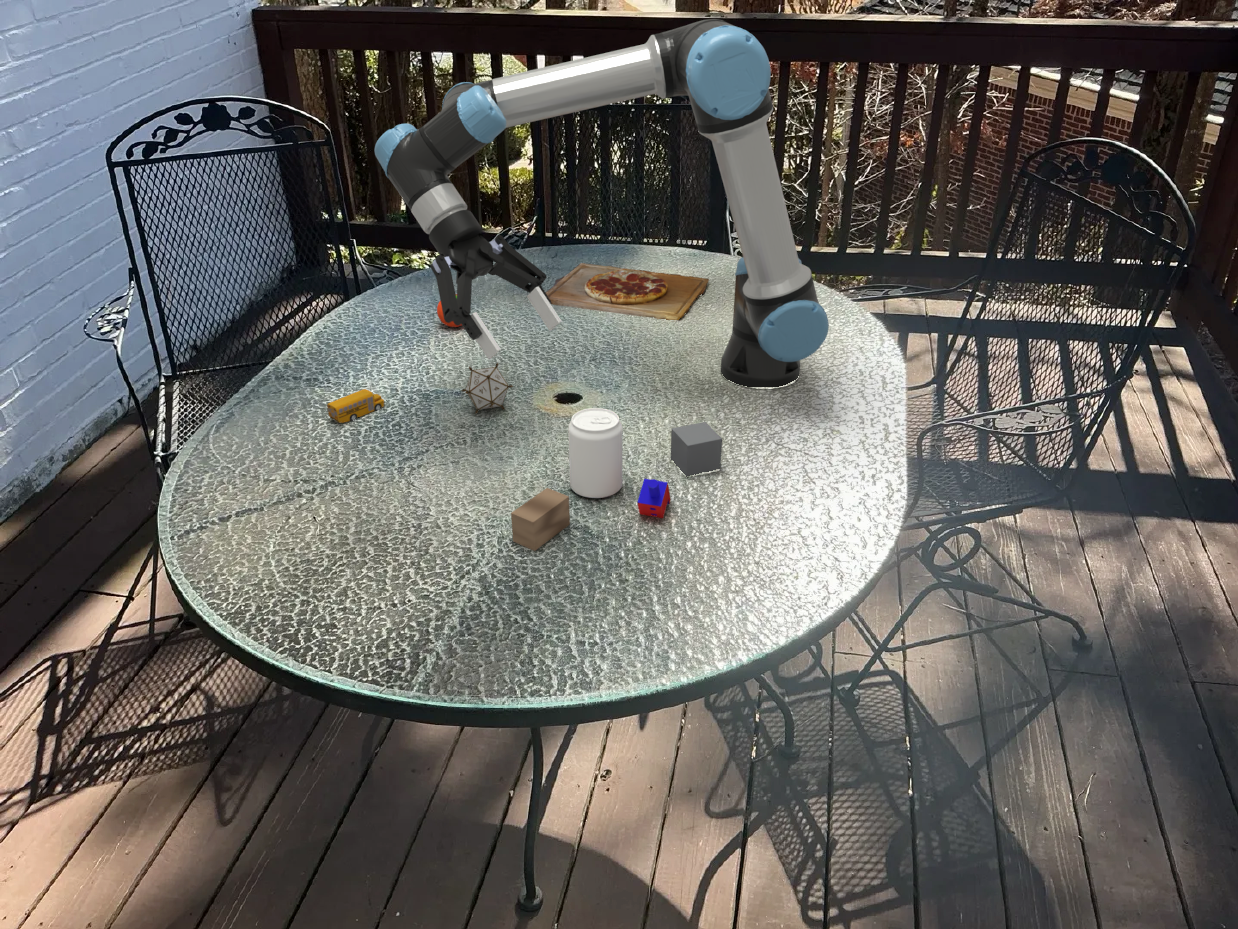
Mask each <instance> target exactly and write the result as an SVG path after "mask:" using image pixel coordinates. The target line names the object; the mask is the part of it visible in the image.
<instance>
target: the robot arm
mask: <svg viewBox="0 0 1238 929" xmlns="http://www.w3.org/2000/svg"><path fill="white" fill-rule="evenodd" d="M771 74H772V72H771V64H770V61H769V57H768V55H767V52H766V50H765V48H764V46H763V45H762V44H761V43H760V41H759V39H757V38H756V37H755V36H754V35H753V34H752V33H750V32H749V31H748V30H746V29H743V28H741V27H738V26H735V25H733V24H732V23H730V22H728V21H725V20H722V19H716V18H711V19H703V20H699V21H696V22H692V23H689V24H687V25H683V26H680V27H677V28H674V29H670V30H667V31H663V32H660V33H655V34H651V35H650V36H649V38H648V40H647V41H646V42H645V43H644V44H640V45H635V46H630V47H626V48H622V49H617V50H611V51H609V52H605V53H600V54H596V55H591V56H588V57H582V58H579V59H574V60H570V61H566V62H560V63H558V64H557V63H556V64H553V65H547V66H543V67H539V68H534V69H530V70H526V71H523V72H519V73H513V74H509V75H506V76H505V75H504V76H501V77H496V78H493V79H489V80H483V81H479V82H475V83H473V82H469V81H468V82H467V81H466V82H465V81H463V82H459V83H456V84H455V85H453V87H451V88H449V90H448V91H447V93H446V94H445V95H444V97H443V99H442V106H441V107H442V108H441V111H439V113H437V114H436V115H435V116H434V117H432V119H430V120H429V121H427V122H426V123H425V124H424V125H423V126H422V127H420V128H418V129H417V128H416V127H415V126H414V125H412V124H411V123H401V124H400V123H399V124H397V125H395V126H394V127H393V128H391V129H390V128H389V129H387V130H386V131H385V132H384V133H382V135H381V136H380V137H379V138H378V140H377V141H376V143H375V146H374V155H375V158H376V159H377V161H378V162H379V164H380V166H381V167H382V169H383V171H384V174H385V176H386V177H387V179H388V180H389V181H390V182H391V184H392V185H393V186H394V188H395V189H396V191H397V192H398V194H399V195H400V197H401V198H402V200H403V201H404V203H405V204H406V206H407V207H408V208H409V210H410V211H411V213H412V215H413V216H414V218H415V219H416V221H417V222H418V224H419V226H420V227H421V229H422V230H423V232H424V233H425V234H427V235H428V239H429V241H430V243H431V244H432V246H434V248H435V249H436V252H437V253H438V255H437V257H436V258H435V259H434V260H433V261H432V262H431V264H430V269H431V271H432V273H433V274H434V276H435V278H436V283H437V284H436V285H437V287H438V294H439V299H440V300H441V305H442V311H443V316H444V320H445V321H446V322H447V323H450V322H451V321H453V322H454V324H455V325H460V324H462V325H461V327H463V329H464V330H465V332H466V333H467V334H468V336H469V338H470V339H471V340H472V341H474V340H475V341H476V342H477V345H478V346H479V347H480V349H481V351H482V352H483V354H484V355H485V356H486V358H487V359H488V360H491V359H493V358H494V357H495V356H496V355H497V354H498V353H499V352H500V351H502V349H501V347H500V345H499V344H498V343H497V341H496V339H495V338H494V336H493V335H492V333H491V332H490V331H489V329H488V327H487V326H486V325H485V323H484V322H483V320H482V318H481V317H480V315H479V314H478V312H477V311H475V312H473V313H471V309H472V308H471V307H472V285H473V280H475V279H477V278H478V277H484V276H486V275H490V276H497V277H498V278H501V279H503V280H504V281H506V282H508V283H510V284H512V285H514V286H516V287H518V288H520V289H521V290H523V291H525V292H527V293H528V295H526V298H527V299H528V301H529V302H530V304H531V305H532V307H533V309H534V310H535V312H536V313H537V314H538V316H539V318H540V319H541V320H542V322H543V323H544V325H545V326H546V329H547V330H548V331H549V332H551V331H553V330H554V329H555V328H556V327H557V326H558V325H560V324H561V323H562V322H563V320H562V319H561V318H560V316H559V314H558V313H557V312H556V310H555V308H554V307H553V306H552V305H553V304H552V303H551V300H550V299H549V298H548V296H547V294H546V293H545V292H546V291H545V290H544V288H543V286H542V285H543V283H544V282H545V280H546V279H547V277H548V276H547V274H546V273H545V272H544V271H542V270H541V269H540V268H538V267H537V265H535V264H534V263H532V262H531V261H530V260H528V259H527V257H525V256H524V255H522V254H521V253H520V252H519V251H517V250H516V249H515V248H514V247H513V246H511V245H510V244H509V243H508V241H507V240H506V239H505V238H504V236H502V235H501V234H498V235H497V236H496V237H495V238H494V239H493V240H491V241H488V239H486V238H485V237H484V235H483V228H482V226H481V224H480V222H478V220H477V219H476V217H475V216H474V214H473V212H471V210H468V205H467V203H466V202H465V201H464V199H463V197H462V196H461V194H460V193H459V191H458V190H457V189H456V187H455V185H454V184H453V183H452V181H451V179H450V177H449V176H448V175H449V174H450V173H451V172H453V171H455V170H456V169H457V167H459V166H460V165H462V164H463V163H465V161H467V160H469V158H471V157H472V156H473V155H475V154H476V153H477V152H479V151H480V150H481V149H483V148H484V147H485V146H486V145H489V143H490V144H491V143H492V142H494V140H495V139H496V137H497V136H499V135H500V134H501V133H502V132H503V131H504V130H505V129H506V128H507V129H508V128H510V127H516V126H518V125H519V126H521V125H525V124H528V123H529V124H530V123H532V122H536V121H541V120H544V119H545V120H546V119H550V118H554V117H559V116H563V115H568V114H572V113H576V112H581V111H585V110H589V109H594V108H599V107H603V106H607V105H611V104H615V103H616V104H617V103H620V102H625V101H630V100H633V99H638V98H643V97H647V96H650V95H656V96H658V97H659V98H661V99H669V98H671V97H681V96H687V97H688V98H689V101H690V104H691V105H690V106H691V108H692V112H693V115H694V119H695V123H696V127H697V130H698V133H699V134H700V135H702V136H703V137H705V138H707V139H709V140H710V141H711V143H712V147H713V151H714V154H715V157H716V162H717V164H718V169H719V173H720V176H721V177H720V178H721V180H722V183H723V187H724V191H725V195H726V199H727V202H728V207H729V211H730V213H731V217H732V220H733V225H734V228H735V231H736V235H737V238H738V243H739V247H740V249H741V254H742V257H741V258H739V259H738V261H737V264H736V269H735V270H736V271H735V273H734V275H735V283H734V284H735V285H734V296H733V297H734V300H733V315H732V316H733V317H732V327H731V328H732V330H731V332H732V333H731V335H730V337H729V340H728V343H727V345H726V346H725V349H724V352H723V354H722V356H721V361H720V374H721V375H722V374H723V376H724V377H725V378H726V379H727V380H726V379H725V378H724V377H723V376H722V377H723V378H724V379H725V380H726V381H728V380H730V381H732V382H734V383H736V384H739V385H743V386H747V387H779V386H783V385H786V384H788V383H790V382H792V381H794V380H796V379H797V378H798V376H799V377H800V375H799V374H800V373H801V361H802V360H805V359H806V358H808V357H810V356H812V355H813V354H815V353H816V352H817V351H818V350H819V349H820V347H821V346H822V345H823V343H824V342H825V341H826V339H827V337H828V333H829V327H830V326H829V318H828V316H827V312H826V311H825V308H824V307H823V306H822V305H821V304H820V301H818V300H819V298H818V294H817V291H816V286H815V282H814V278H813V275H812V270H811V269H810V267H809V266H806V265H804V264H802V260H801V259H800V258H799V256H798V252H797V246H796V243H795V239H794V234H793V230H792V227H791V222H790V218H789V214H788V210H787V206H786V200H785V197H784V193H783V188H782V185H781V179H780V176H779V171H778V167H777V162H776V159H775V155H774V151H773V147H772V142H771V136H770V133H769V130H768V126H767V122H768V121H769V118H770V117H771V115H772V113H773V111H774V107H773V106H774V105H773V102H772V96H771V92H770V89H769V87H770V84H771ZM451 269H452V270H453V271H455V272H456V277H455V283H456V290H455V285H454V279H453V274H452V270H451ZM456 294H457V299H456ZM440 300H439V301H440ZM798 379H799V378H798ZM736 384H735V385H736ZM739 385H738V386H739Z"/></svg>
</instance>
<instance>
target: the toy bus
mask: <svg viewBox="0 0 1238 929" xmlns="http://www.w3.org/2000/svg"><path fill="white" fill-rule="evenodd" d="M326 405H327V414H328V416H329V418H330V419H332V420H333V421H334V422H337V423H340V424H343V423H347V422H353V420H354V421H356V420H357V419H358V417H359V418H361V417H363V416H365V415H368V414H370V413H373V412H375V411H376V412H377V411H380V410H381V409H382V408H384V407H385V400H384V399H383V398H382V395H380V394H377V393H373V391H370V390H368V389H366V388H363V389H360V390H358V391H355V392H353V393H351V394H348V395H346V396H343V397H341V398H338V399H336V400H333V401H331V402H329V403H327V404H326ZM355 419H356V420H355Z"/></svg>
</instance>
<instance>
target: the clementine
mask: <svg viewBox="0 0 1238 929" xmlns="http://www.w3.org/2000/svg"><path fill="white" fill-rule="evenodd" d="M455 294H456V299H457V293H455ZM436 307H437V308H436V312H437V313H436V314H437V317H438V318H439V321H440V322H441V323H442V324H444V325H445V326H447V327H449V328H458V327H462V324H460V325H455V324H454V322H453V321H451V322H450V323H447V322H446V321H445V320H444V316H443V311H442V305H441V300H439V302H438V304H437V306H436Z"/></svg>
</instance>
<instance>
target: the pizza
mask: <svg viewBox="0 0 1238 929" xmlns="http://www.w3.org/2000/svg"><path fill="white" fill-rule="evenodd" d="M709 282H710V279H709V278H705V277H701V276H700V277H698V276H692V275H688V276H686V275H682V274H678V273H675V274H674V273H665V272H654V271H649V270H644V269H643V270H642V269H639V270H638V269H634V268H633V269H632V268H623V267H616V266H611V265H607V266H606V265H601V264H593V263H585V262H582V263H578V265H577V266H575V267H573V269H572V270H570V271H569V273H567V274H566V275H564V276H562V277H560V278H558V279H556V280H555V283H554V284H553V286H551V287H550V289H548V290H546V291H545V293H546V294H547V296H548V298H549V299H550V300H551V303H552V304H551V305H553V306H559V307H561V306H562V307H568V308H569V307H570V308H576V309H584V310H591V311H598V312H605V313H613V314H621V315H626V316H633V317H634V316H635V317H641V316H642V318H643V317H644V318H653V317H654V319H655V320H659V319H666V320H679V319H680V318H681V319H683V318H684V317H685V315H686V314H688V313H689V311H690V309H691V308H690V306H691V307H692V306H693V304H694V303H695V302H694V301H696V300H697V299H699V297H700V296H699V295H701V294H703V295H704V294H705V291H706V288H707V286H708V284H709ZM698 296H699V297H698ZM696 298H697V299H696ZM693 302H694V303H693ZM689 308H690V309H689ZM687 312H688V313H687ZM685 313H686V314H685ZM684 314H685V315H684ZM683 316H684V317H683ZM682 317H683V318H682ZM681 319H680V320H681ZM680 320H679V321H680Z"/></svg>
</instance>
